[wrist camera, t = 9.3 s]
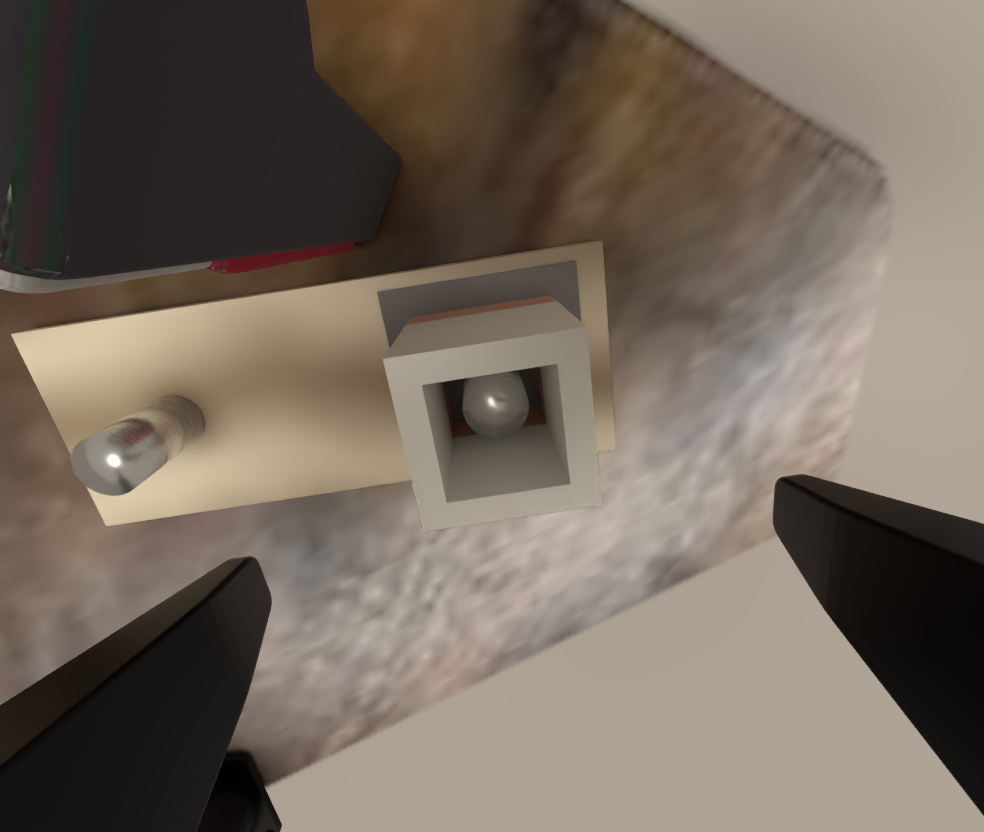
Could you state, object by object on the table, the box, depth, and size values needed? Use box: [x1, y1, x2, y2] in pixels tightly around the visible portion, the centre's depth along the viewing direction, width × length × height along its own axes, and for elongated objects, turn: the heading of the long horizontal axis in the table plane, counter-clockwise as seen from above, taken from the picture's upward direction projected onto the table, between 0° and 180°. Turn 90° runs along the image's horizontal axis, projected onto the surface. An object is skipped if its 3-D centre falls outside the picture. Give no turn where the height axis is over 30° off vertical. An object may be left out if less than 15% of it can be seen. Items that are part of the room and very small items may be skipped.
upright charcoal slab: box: [0, 0, 401, 293], centre depth 10 cm, size 11×4×15 cm, turn 66°
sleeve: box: [383, 295, 602, 532], centre depth 16 cm, size 5×5×6 cm
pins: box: [71, 370, 529, 496], centre depth 17 cm, size 2×14×4 cm, turn 99°
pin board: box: [11, 240, 616, 526], centre depth 19 cm, size 8×21×1 cm, turn 98°
